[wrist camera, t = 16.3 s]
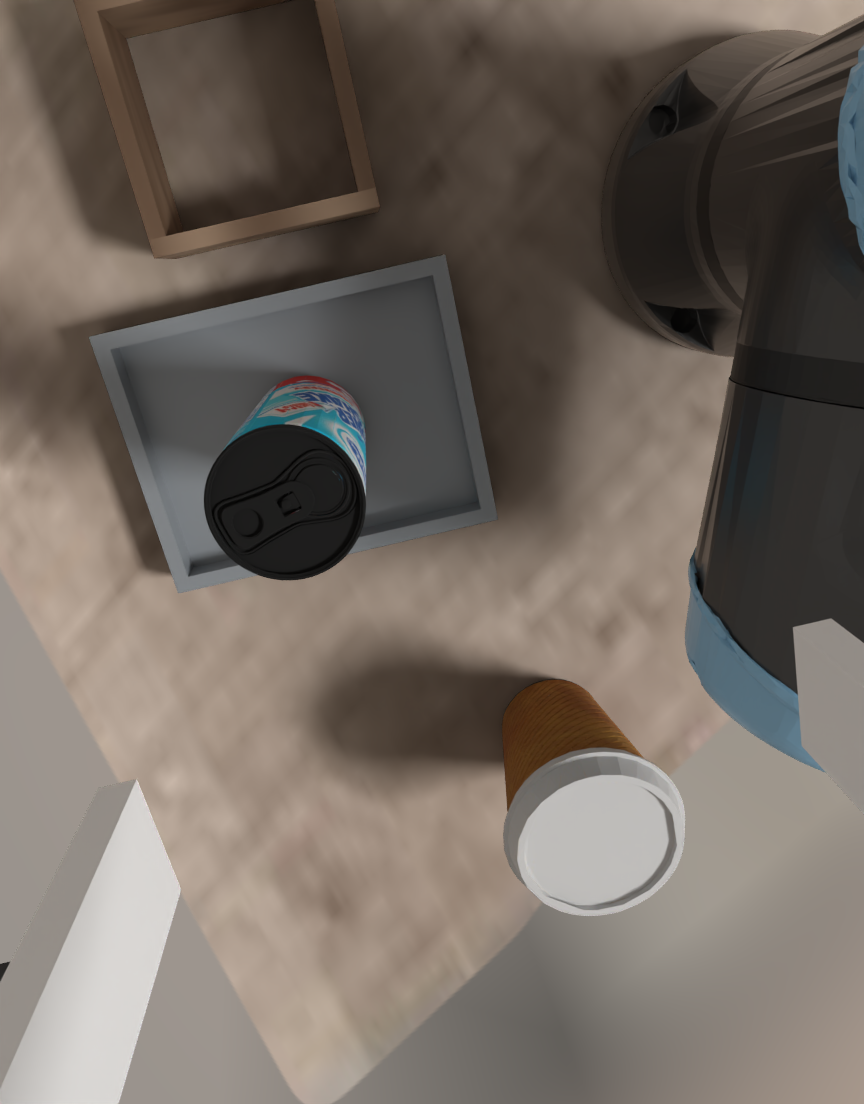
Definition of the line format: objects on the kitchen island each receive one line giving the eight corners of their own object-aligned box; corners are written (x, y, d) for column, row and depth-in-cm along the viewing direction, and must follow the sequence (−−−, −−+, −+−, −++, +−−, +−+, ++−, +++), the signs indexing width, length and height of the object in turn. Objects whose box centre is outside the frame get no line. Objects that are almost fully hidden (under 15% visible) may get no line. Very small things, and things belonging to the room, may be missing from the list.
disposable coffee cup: (448, 708, 52) (471, 831, 41) (577, 628, 51) (638, 732, 40) (525, 811, 55) (567, 952, 44) (649, 737, 54) (725, 863, 43)
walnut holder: (324, -28, 39) (320, -64, 34) (378, 211, 42) (379, 206, 38) (103, 23, 39) (71, -7, 34) (175, 258, 42) (154, 258, 38)
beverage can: (378, 467, 46) (384, 558, 31) (274, 494, 46) (233, 598, 31) (348, 360, 44) (340, 406, 29) (239, 389, 44) (179, 449, 30)
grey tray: (440, 254, 43) (445, 254, 41) (491, 506, 48) (497, 519, 46) (103, 332, 43) (88, 337, 41) (187, 577, 48) (178, 593, 46)
